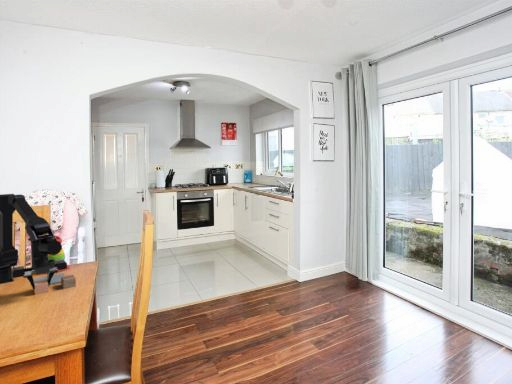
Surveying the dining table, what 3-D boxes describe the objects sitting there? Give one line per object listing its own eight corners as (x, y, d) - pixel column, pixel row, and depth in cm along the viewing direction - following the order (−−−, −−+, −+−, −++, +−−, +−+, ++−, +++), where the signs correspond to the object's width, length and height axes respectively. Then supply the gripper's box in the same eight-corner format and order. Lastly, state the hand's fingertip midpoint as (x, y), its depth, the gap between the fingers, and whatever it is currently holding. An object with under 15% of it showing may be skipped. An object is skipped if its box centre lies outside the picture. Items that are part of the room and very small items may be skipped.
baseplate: (33, 280, 145) (33, 278, 145) (63, 274, 152) (63, 273, 152) (36, 287, 136) (36, 286, 136) (68, 281, 143) (68, 279, 143)
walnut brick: (61, 285, 139) (60, 276, 139) (72, 282, 142) (72, 274, 142) (64, 289, 135) (63, 280, 135) (75, 286, 138) (75, 277, 138)
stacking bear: (71, 267, 163) (70, 233, 162) (57, 274, 153) (56, 238, 152) (52, 266, 164) (51, 232, 163) (37, 273, 154) (35, 237, 153)
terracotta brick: (33, 290, 133) (33, 281, 133) (46, 287, 136) (46, 278, 136) (35, 294, 128) (34, 285, 128) (48, 292, 131) (48, 282, 131)
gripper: (12, 260, 119) (14, 300, 120) (69, 252, 131) (70, 288, 132) (10, 254, 127) (12, 291, 128) (64, 246, 139) (65, 281, 140)
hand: (40, 288), depth 132 cm, fingers closed on terracotta brick, 4 cm apart
